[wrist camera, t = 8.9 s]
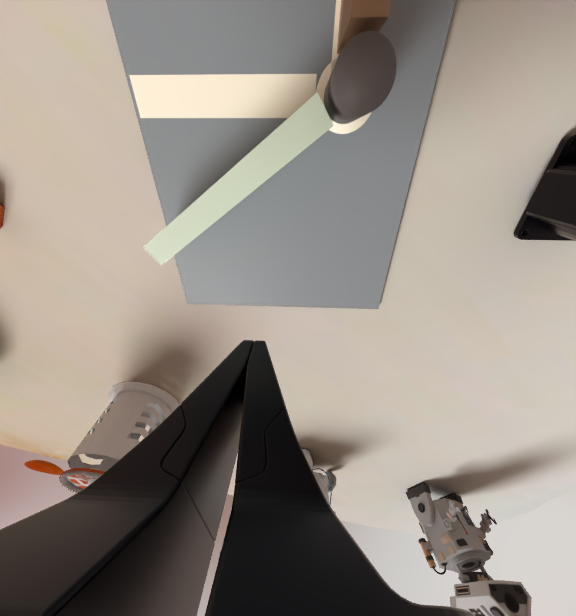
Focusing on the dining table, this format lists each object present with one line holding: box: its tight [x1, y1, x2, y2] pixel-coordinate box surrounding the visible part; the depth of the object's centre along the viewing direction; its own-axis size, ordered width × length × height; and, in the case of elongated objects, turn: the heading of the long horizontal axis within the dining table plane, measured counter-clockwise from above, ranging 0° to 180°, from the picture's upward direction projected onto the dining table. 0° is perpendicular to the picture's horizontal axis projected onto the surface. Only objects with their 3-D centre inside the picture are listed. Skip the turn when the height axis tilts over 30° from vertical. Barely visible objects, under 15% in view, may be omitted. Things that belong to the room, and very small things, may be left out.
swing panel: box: [143, 92, 333, 266], centre depth 15 cm, size 2×13×4 cm, turn 125°
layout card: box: [106, 0, 456, 309], centre depth 15 cm, size 18×30×1 cm, turn 0°
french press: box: [59, 382, 180, 493], centre depth 23 cm, size 10×12×25 cm
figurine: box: [406, 483, 531, 616], centre depth 37 cm, size 9×12×15 cm
